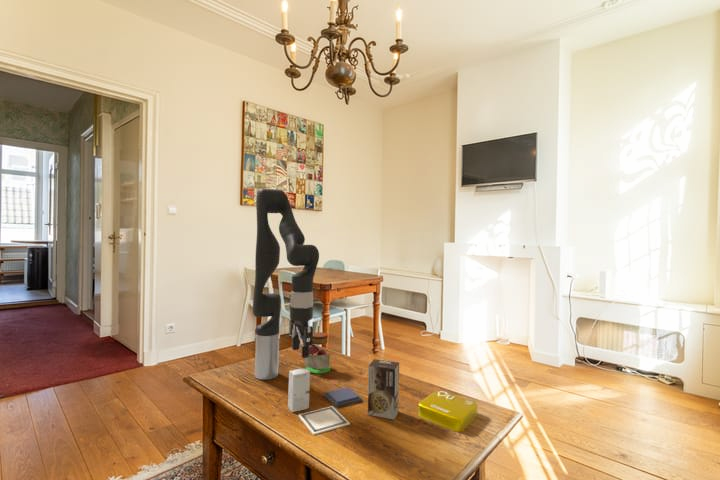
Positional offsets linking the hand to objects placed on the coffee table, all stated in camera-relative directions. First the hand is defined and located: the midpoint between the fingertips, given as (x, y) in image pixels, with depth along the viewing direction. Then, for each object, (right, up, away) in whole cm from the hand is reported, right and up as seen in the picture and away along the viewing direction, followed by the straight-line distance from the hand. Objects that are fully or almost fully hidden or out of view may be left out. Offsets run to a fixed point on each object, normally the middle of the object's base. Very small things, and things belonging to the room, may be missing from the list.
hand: (300, 353), depth 113 cm
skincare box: (-1, -18, 0) cm, 18 cm away
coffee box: (+27, -19, -2) cm, 33 cm away
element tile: (+48, -20, -2) cm, 52 cm away
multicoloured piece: (+1, -18, +34) cm, 38 cm away
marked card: (+9, -18, -8) cm, 21 cm away
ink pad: (+14, -18, +7) cm, 24 cm away
